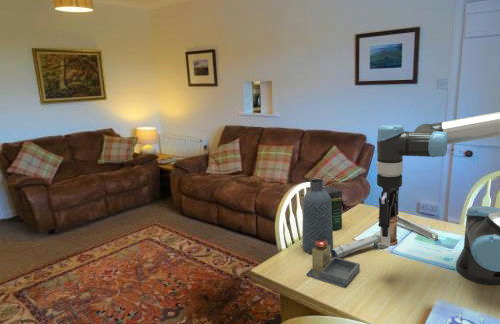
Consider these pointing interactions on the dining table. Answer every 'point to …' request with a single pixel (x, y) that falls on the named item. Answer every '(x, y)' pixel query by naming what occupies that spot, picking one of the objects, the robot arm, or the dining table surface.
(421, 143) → the robot arm
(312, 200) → the vase
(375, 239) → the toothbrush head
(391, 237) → the cylinder
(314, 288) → the dining table surface
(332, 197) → the coffee jar
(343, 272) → the fitting base
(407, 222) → the wrench
